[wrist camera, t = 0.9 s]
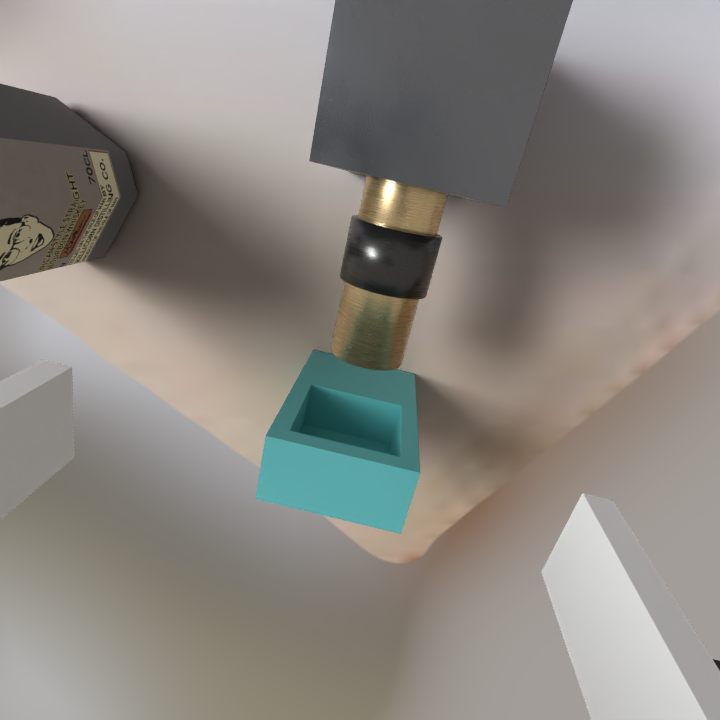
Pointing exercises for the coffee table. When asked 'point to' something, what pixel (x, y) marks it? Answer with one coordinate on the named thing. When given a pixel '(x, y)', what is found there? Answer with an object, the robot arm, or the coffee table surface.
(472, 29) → the grey matte cuboid
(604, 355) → the coffee table surface
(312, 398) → the socket
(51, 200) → the liquor
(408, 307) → the brass tube
